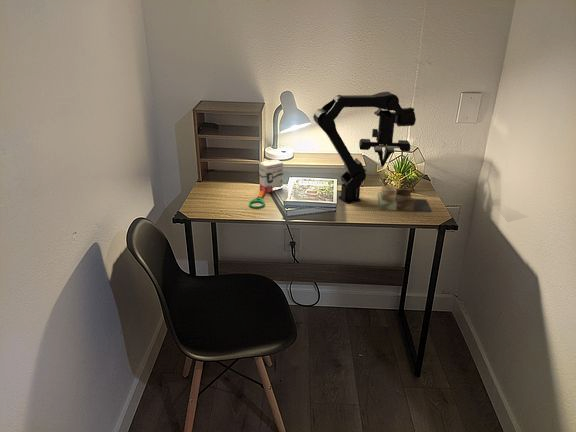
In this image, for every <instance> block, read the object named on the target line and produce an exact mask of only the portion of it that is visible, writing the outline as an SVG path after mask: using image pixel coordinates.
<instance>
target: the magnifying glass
mask: <svg viewBox="0 0 576 432" xmlns="http://www.w3.org/2000/svg"><path fill="white" fill-rule="evenodd" d="M265 194H266V193H265V191H261V190H260V192H259V193H258V195H257V197H256V198H254V199H252V200H250V201H249V202H248V207H249V208H250V209H256V210H258V209H262V208H264V207H265V206H266V203H265V201H264V199H263V198H264V196H265ZM256 203H257V204H258V203H259V204H262V205H257V206H256V205H252V204H256Z"/></svg>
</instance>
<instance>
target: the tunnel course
mask: <svg viewBox="0 0 576 432" xmlns="http://www.w3.org/2000/svg"><path fill="white" fill-rule="evenodd" d="M395 188H396V191H397V193H396V201H387V200H382V197H381V191H378V192H377V197H376V198H377V203H378V208H379V210H384V211H385V210H386V211H387V210H389V211H413V212H429V213H430V212H432V209H431V208H430V206H429V203H428V201H427V199H426V198H425V199H424V198H423V199H422V198H414V197H412V195H411V194H412V193H411V192H412V189H411V188H398V187H395Z"/></svg>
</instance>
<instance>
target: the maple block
mask: <svg viewBox="0 0 576 432" xmlns="http://www.w3.org/2000/svg"><path fill="white" fill-rule="evenodd" d="M396 188H397V187H396V186H393V185H382V186H381V190H380V192H381V197H382V200H387V201H396V193H397V191H396Z"/></svg>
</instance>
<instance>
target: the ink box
mask: <svg viewBox="0 0 576 432" xmlns="http://www.w3.org/2000/svg"><path fill="white" fill-rule="evenodd" d="M258 164H259V165H258V166H259V167H258V168H259V171H258V172H259V190H260V191H265V194H269V193H271V191H272V188H274V187H281V186H284V184H283V183H284V182H283V181H284V179H283V178H284V177H283V176H284V162H283V161H280V160H279V159H278V158H277V159H270V160H265V161H264V160H263V161H261V162H259V163H258ZM272 192H273V191H272Z"/></svg>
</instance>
